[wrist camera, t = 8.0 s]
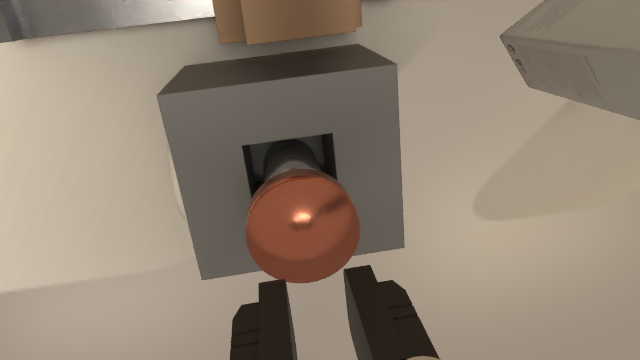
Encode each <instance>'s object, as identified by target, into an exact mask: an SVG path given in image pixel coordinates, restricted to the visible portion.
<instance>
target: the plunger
mask: <svg viewBox="0 0 640 360" xmlns="http://www.w3.org/2000/svg"><path fill="white" fill-rule="evenodd" d="M263 166H264V184H262V185H261V187H260V188H259V189H258V190H257V191H256V193H255V194H254V195H253V197H252V199H251V201H250V204H249V207H248V211H247V222H246V242H247V247H248V250H249V253H250V255H251V257H252V258H253V260H254V262H255V263H256V264H257V265H258V266H259V267H260V268H261V269H262V270H263V271H264V272H266V273H267V274H269V275H270V276H272V277H274V278H276V279H279V280H280V279H285V280H286V282H291V283H309V282H314V281H318V280H321V279H324V278H326V277H329V276H331V275H332V274H334V273H335V272H337V271H338V270H340V269H341V268H342V267H343V266H344V265H345V264H346V263H347V262H348V261H349V259H350V258H351V257H352V255H353V254H354V252H355V250H356V248H357V245H358V242H359V238H360V222H359V217H358V214H357V212H356V209H355V207H354V205H353V203H352V201H351V198H350V196H349V194H348V193H347V191H346V190H345V188H344V187H343V186H342V185H341V184H340V183H339V182H338V181H337V180H336V179H334V178H333V177H331V176H329V175H327V174H325V173H323V172H321V170H320V168H319V165H318V162H317V159H316V156H315V154H314V152H313V150H312V149H311V147H310V146H309V145H307V144H306V143H305V142H303V141H301V140H298V139H285V140H280V141H278V142H276V143H275V144H273V145H272V146H271V147H270V148H269V149H268V151H267V152H266V154H265V157H264V163H263Z"/></svg>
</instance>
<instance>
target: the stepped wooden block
mask: <svg viewBox="0 0 640 360" xmlns="http://www.w3.org/2000/svg"><path fill="white" fill-rule="evenodd" d="M212 3H213V9H214V14H215V20H216V25H217V31H218V36H219V41H220V44H224V43H232V42H240V41H247V45H251V44H259V43H267V42H275V41H283V40H291V39H299V38H307V37H315V36H323V35H331V34H339V33H347V32H356V29H355V27H361V26H362V15H361V0H212Z"/></svg>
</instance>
